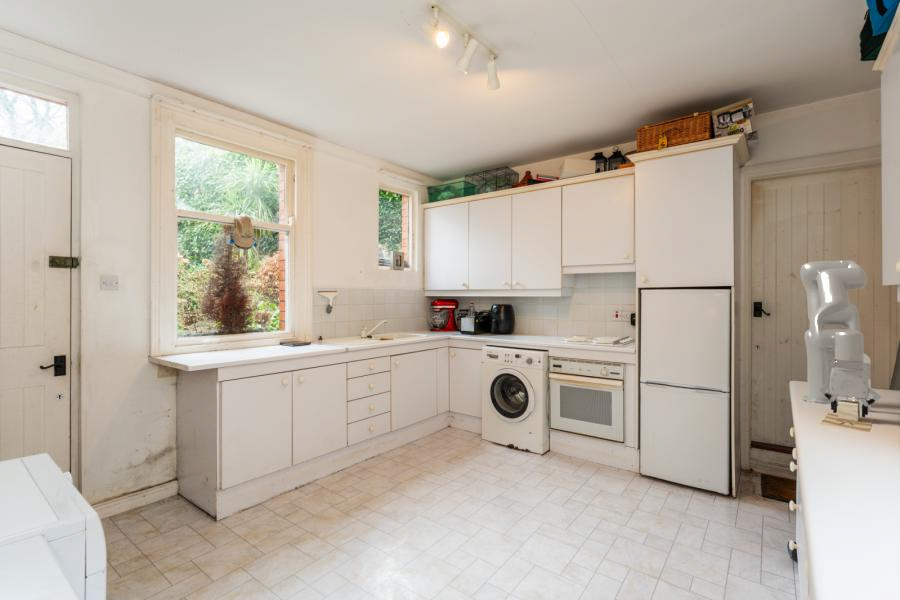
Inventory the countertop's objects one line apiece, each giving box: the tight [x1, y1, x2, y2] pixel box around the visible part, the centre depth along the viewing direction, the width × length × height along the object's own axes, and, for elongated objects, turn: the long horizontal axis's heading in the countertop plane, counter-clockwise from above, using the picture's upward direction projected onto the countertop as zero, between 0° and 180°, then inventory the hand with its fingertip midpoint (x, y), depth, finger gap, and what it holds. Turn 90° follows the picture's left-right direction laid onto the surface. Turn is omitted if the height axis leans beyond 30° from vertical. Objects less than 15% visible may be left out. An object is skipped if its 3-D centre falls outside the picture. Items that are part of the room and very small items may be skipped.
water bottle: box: [845, 353, 872, 412], centre depth 163 cm, size 7×7×25 cm
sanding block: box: [837, 398, 861, 422], centre depth 151 cm, size 8×5×6 cm, turn 132°
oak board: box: [820, 411, 875, 433], centre depth 147 cm, size 22×12×1 cm, turn 132°
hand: (849, 414), depth 151 cm, fingers open, 6 cm apart
